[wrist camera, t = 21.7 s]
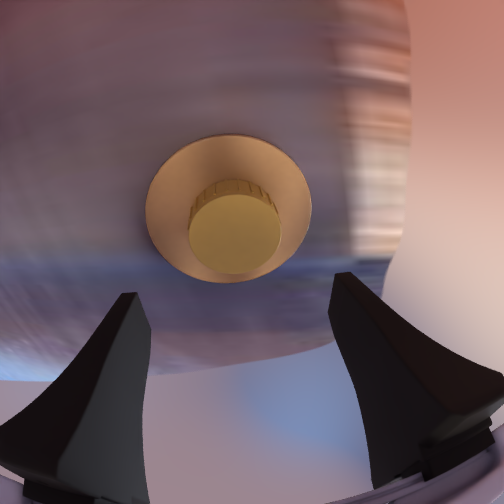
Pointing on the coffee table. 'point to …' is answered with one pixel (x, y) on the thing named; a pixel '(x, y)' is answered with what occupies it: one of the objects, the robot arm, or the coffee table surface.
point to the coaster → (214, 171)
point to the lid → (234, 227)
